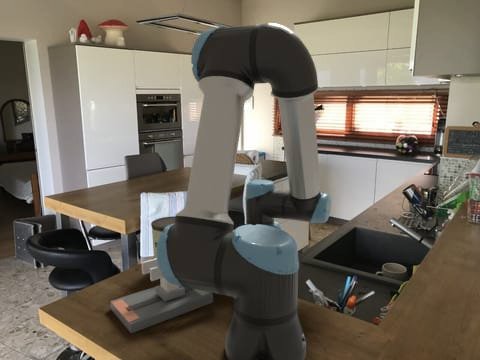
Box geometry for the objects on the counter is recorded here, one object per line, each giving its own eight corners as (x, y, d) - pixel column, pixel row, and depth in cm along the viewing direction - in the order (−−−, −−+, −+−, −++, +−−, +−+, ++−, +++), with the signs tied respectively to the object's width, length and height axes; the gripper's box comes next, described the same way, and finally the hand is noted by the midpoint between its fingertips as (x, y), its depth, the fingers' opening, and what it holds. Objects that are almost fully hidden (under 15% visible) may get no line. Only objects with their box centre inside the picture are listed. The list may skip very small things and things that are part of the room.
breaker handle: (184, 294, 90) (182, 247, 88) (165, 301, 87) (162, 252, 85) (174, 286, 94) (172, 241, 92) (155, 292, 91) (152, 246, 89)
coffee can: (196, 263, 113) (194, 216, 110) (184, 279, 103) (181, 228, 100) (162, 261, 115) (160, 215, 112) (148, 276, 105) (144, 226, 102)
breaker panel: (213, 302, 91) (213, 294, 91) (131, 333, 80) (130, 324, 79) (187, 283, 101) (187, 276, 100) (110, 309, 89) (110, 300, 88)
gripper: (252, 270, 94) (164, 301, 80) (213, 250, 107) (132, 274, 93) (252, 241, 93) (163, 268, 79) (212, 224, 106) (130, 244, 92)
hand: (146, 271), depth 86 cm, fingers closed on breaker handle, 4 cm apart
